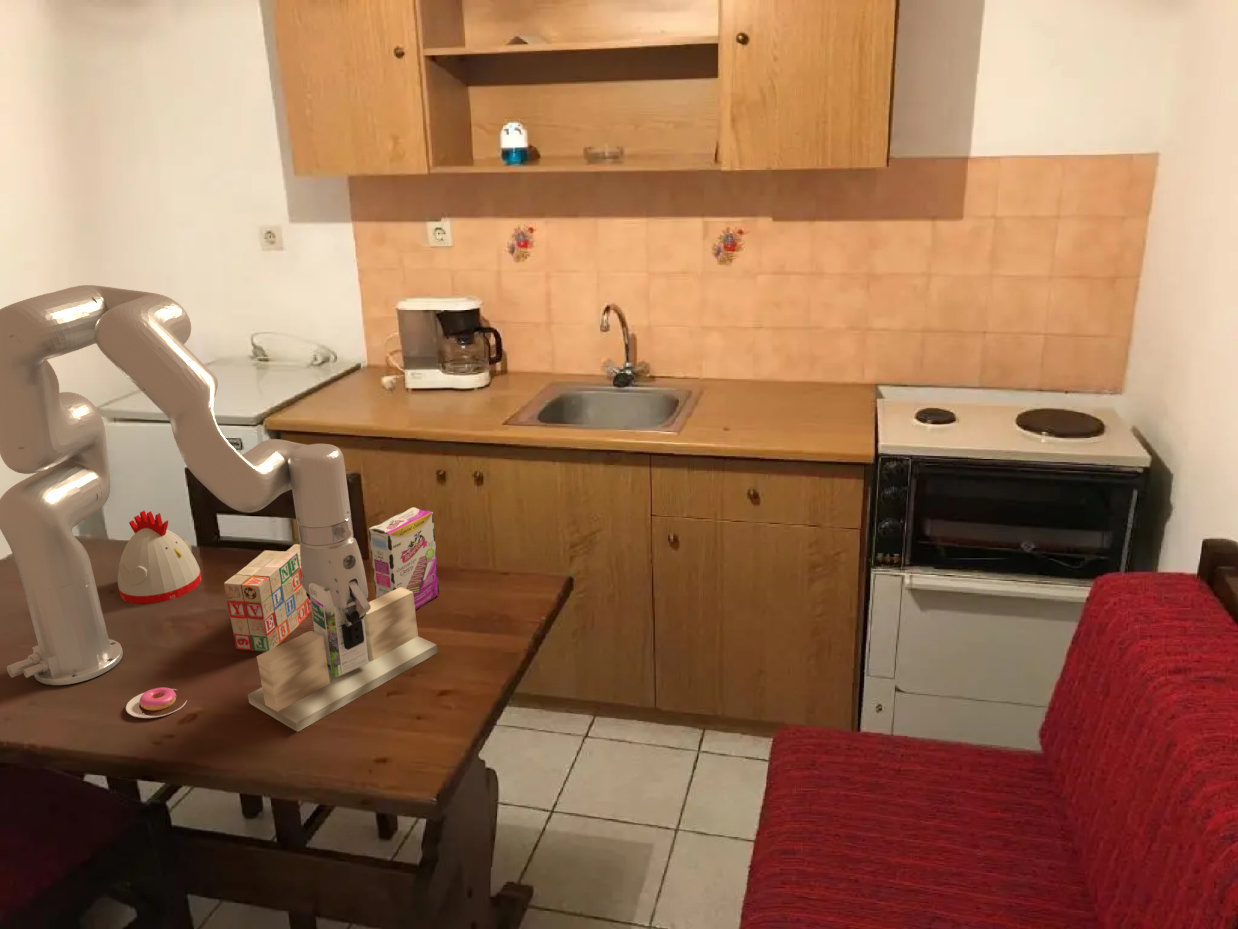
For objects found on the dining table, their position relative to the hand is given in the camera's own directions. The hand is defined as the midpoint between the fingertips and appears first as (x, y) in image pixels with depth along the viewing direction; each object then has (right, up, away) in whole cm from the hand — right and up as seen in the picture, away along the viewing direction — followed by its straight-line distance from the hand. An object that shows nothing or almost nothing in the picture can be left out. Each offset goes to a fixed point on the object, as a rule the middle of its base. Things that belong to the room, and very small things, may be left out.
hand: (340, 637), depth 148 cm
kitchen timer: (-43, +3, +34) cm, 54 cm away
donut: (-27, -11, -4) cm, 29 cm away
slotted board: (0, -6, +2) cm, 7 cm away
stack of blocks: (-15, -1, +20) cm, 25 cm away
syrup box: (0, -5, +2) cm, 5 cm away
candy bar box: (+6, +1, +24) cm, 24 cm away
